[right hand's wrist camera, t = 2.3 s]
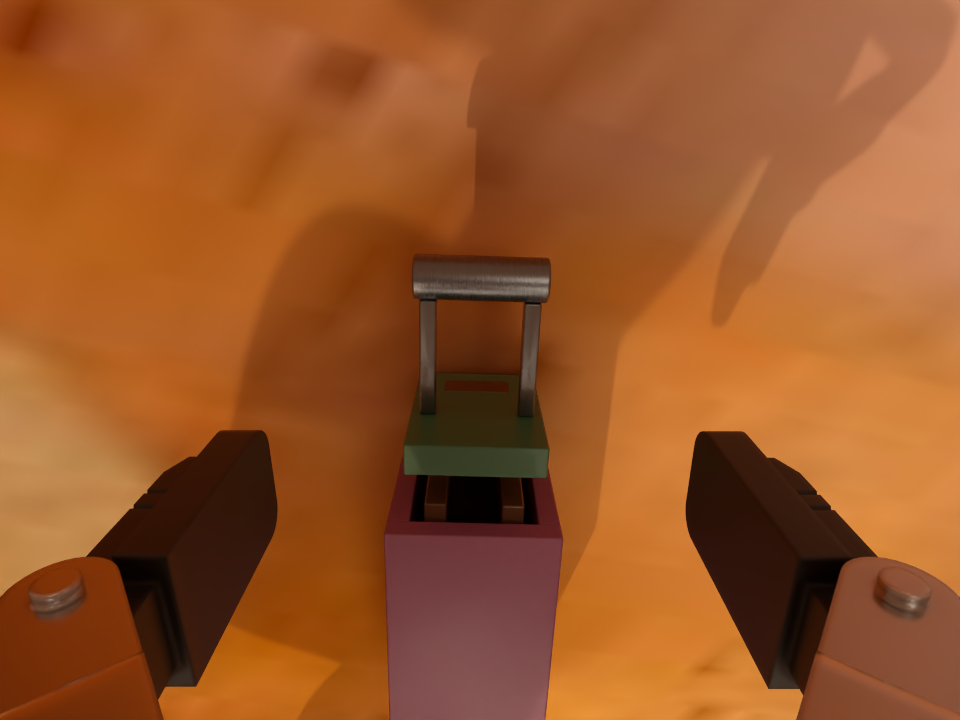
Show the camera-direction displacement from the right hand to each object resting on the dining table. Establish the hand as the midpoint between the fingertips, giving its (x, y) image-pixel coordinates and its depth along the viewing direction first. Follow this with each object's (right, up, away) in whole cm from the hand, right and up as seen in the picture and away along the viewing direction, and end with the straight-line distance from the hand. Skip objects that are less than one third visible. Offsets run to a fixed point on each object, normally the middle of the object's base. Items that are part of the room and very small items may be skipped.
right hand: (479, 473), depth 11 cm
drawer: (0, -3, +17) cm, 17 cm away
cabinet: (0, -9, +20) cm, 22 cm away
